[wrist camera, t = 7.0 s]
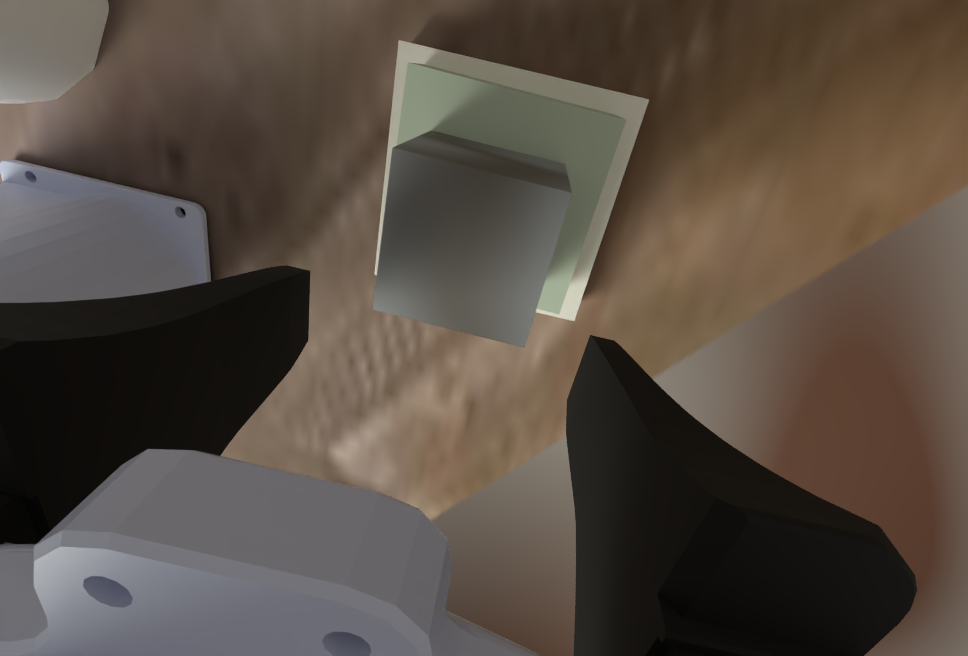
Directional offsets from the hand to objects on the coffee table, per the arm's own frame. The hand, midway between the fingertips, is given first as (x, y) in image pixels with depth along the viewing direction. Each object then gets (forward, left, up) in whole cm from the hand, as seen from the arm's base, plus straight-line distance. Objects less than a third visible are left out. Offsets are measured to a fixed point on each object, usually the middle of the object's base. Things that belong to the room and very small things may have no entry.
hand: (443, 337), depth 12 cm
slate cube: (0, +2, -6) cm, 6 cm away
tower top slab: (0, +2, -9) cm, 9 cm away
